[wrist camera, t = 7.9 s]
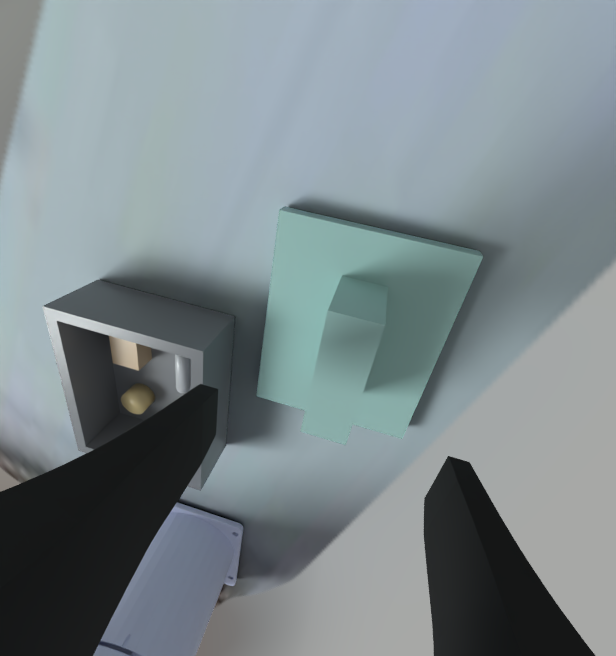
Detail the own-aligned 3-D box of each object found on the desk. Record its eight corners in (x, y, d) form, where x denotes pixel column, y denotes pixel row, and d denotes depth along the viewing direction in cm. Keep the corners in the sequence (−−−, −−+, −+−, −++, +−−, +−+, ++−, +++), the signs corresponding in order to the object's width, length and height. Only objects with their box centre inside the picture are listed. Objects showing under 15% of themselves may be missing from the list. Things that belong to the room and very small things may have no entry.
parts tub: (225, 445, 23) (200, 490, 20) (117, 411, 24) (78, 450, 21) (235, 316, 18) (203, 351, 15) (98, 279, 19) (42, 306, 16)
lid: (401, 423, 20) (402, 497, 16) (263, 383, 20) (230, 443, 16) (477, 248, 14) (507, 291, 10) (287, 205, 15) (247, 229, 11)
